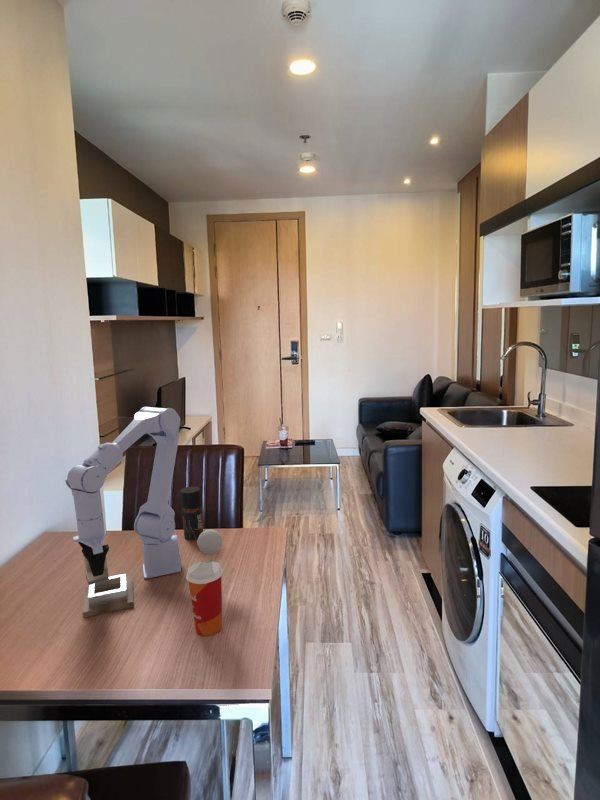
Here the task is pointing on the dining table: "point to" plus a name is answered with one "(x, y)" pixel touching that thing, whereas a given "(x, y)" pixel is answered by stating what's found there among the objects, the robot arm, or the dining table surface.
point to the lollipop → (209, 542)
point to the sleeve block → (89, 575)
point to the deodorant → (191, 512)
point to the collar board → (108, 595)
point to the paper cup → (206, 597)
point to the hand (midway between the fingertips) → (96, 570)
